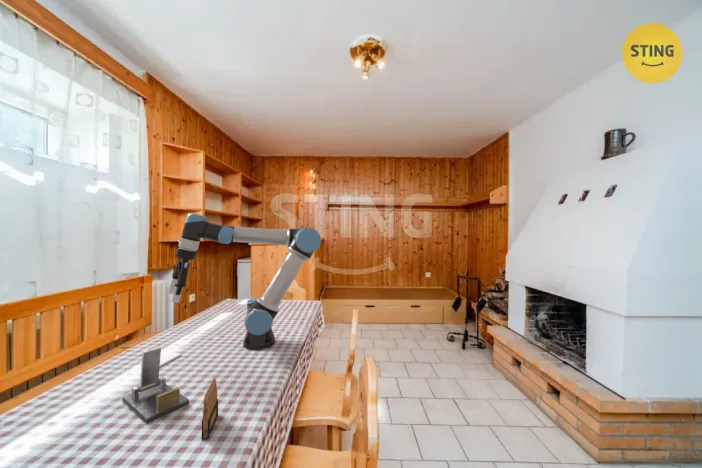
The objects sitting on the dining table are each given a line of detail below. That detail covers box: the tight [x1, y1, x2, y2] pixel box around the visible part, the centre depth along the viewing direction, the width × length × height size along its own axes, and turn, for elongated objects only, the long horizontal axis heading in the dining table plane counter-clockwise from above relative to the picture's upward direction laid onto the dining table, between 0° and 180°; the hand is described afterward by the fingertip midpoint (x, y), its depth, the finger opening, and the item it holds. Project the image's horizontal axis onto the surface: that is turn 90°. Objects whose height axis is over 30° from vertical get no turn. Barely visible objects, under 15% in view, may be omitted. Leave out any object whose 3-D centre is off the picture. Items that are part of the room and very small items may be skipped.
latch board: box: [121, 376, 190, 425], centre depth 95 cm, size 20×12×6 cm, turn 55°
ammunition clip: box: [201, 377, 219, 440], centre depth 84 cm, size 11×2×12 cm, turn 12°
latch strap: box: [137, 346, 162, 393], centre depth 98 cm, size 2×6×14 cm, turn 145°
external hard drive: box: [160, 352, 182, 368], centre depth 126 cm, size 2×8×12 cm
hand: (173, 297), depth 123 cm, fingers open, 13 cm apart
